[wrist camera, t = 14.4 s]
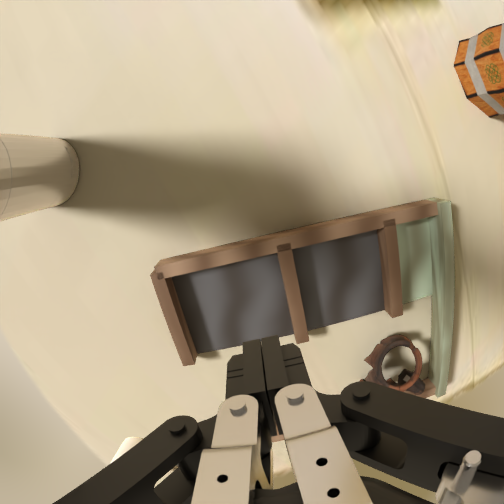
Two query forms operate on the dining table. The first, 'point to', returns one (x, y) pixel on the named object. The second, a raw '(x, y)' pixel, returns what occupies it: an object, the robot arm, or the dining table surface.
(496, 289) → the dining table surface
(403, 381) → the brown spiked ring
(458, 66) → the mug
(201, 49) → the dining table surface
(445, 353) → the wooden divided tray
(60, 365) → the dining table surface
